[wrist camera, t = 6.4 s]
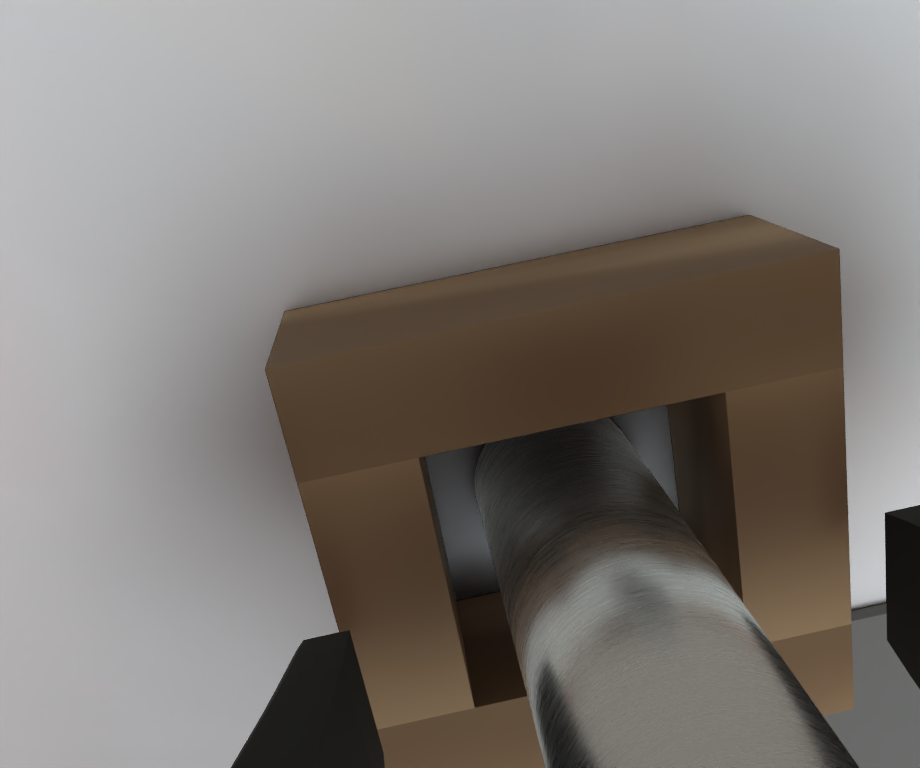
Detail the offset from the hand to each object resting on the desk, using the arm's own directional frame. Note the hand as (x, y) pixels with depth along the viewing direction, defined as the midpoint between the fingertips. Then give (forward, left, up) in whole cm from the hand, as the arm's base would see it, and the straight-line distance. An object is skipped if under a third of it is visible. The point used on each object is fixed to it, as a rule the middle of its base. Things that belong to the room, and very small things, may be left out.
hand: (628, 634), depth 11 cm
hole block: (0, 0, -5) cm, 5 cm away
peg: (0, 0, -5) cm, 5 cm away
